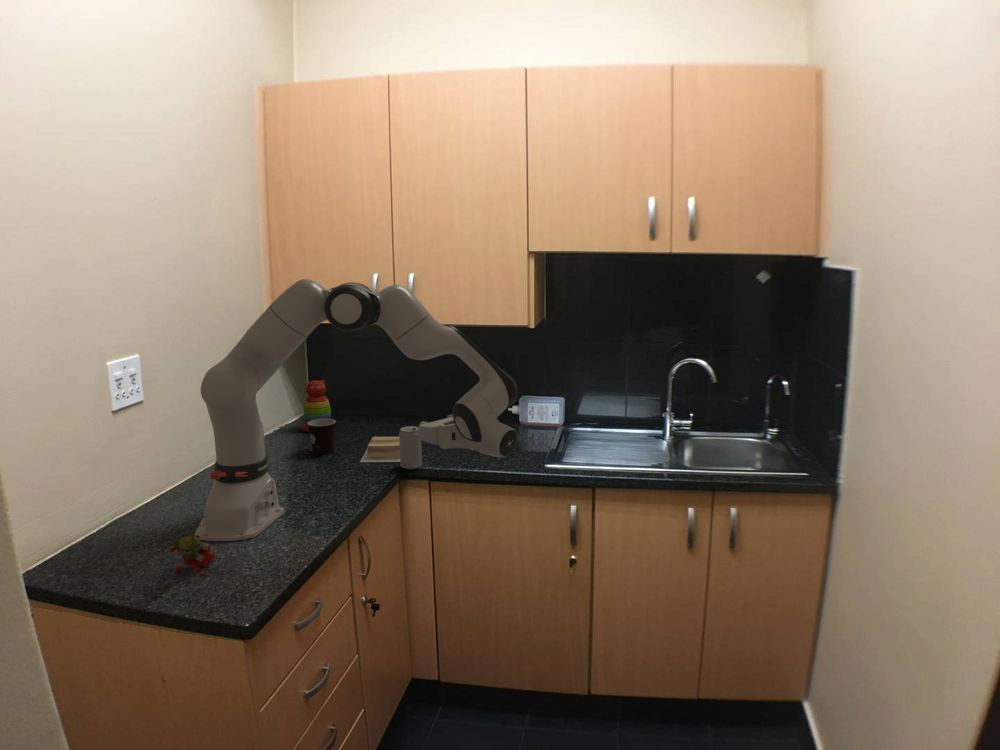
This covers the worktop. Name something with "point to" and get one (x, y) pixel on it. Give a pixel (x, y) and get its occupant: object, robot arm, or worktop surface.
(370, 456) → the block
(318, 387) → the stacking bear
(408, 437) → the beverage can
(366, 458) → the mat
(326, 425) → the coffee mug
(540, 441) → the worktop surface
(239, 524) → the robot arm
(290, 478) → the worktop surface
